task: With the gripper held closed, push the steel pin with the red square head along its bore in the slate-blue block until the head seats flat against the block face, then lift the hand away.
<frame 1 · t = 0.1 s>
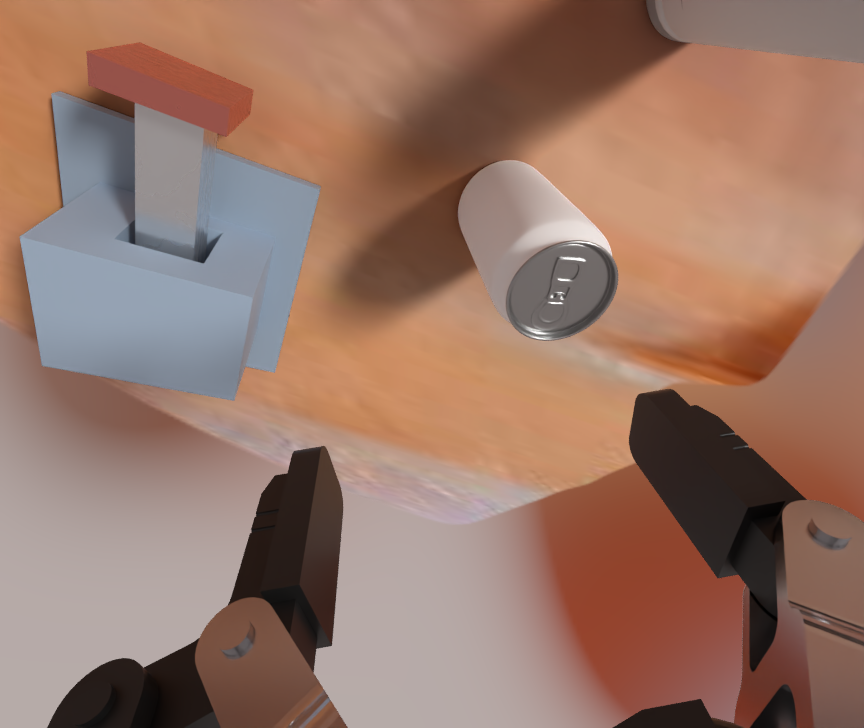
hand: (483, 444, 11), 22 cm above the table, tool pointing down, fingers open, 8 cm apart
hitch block: (192, 260, 30), on the table
can: (501, 206, 30), on the table
pin: (175, 208, 23), point 4 cm above the table, slide at 0.0 cm
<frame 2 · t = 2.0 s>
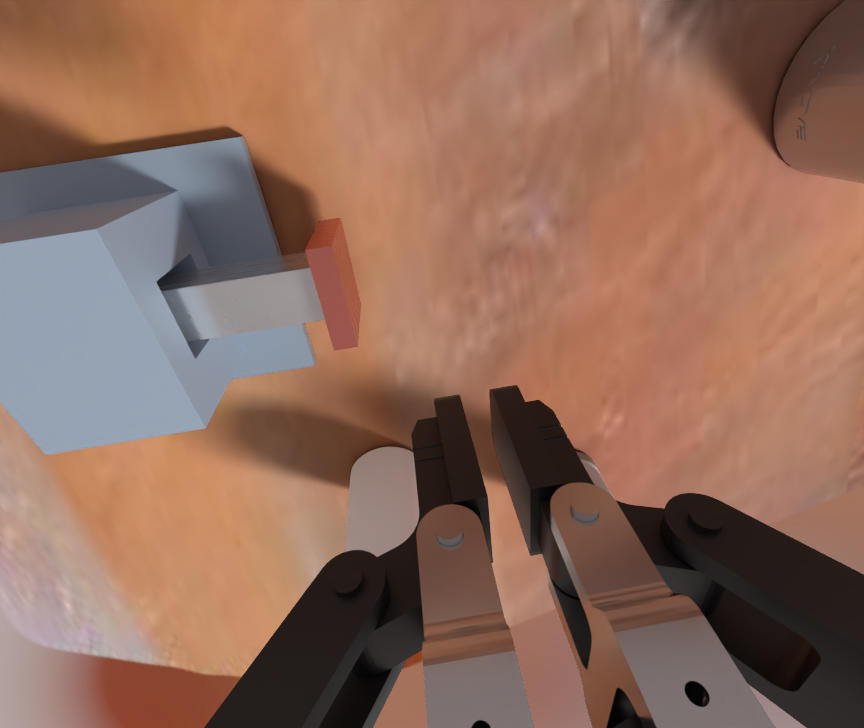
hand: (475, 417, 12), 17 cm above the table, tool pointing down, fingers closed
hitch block: (154, 284, 26), on the table
can: (388, 469, 37), on the table
pin: (223, 299, 22), point 5 cm above the table, slide at 0.0 cm
travel mug: (557, 472, 39), on the table
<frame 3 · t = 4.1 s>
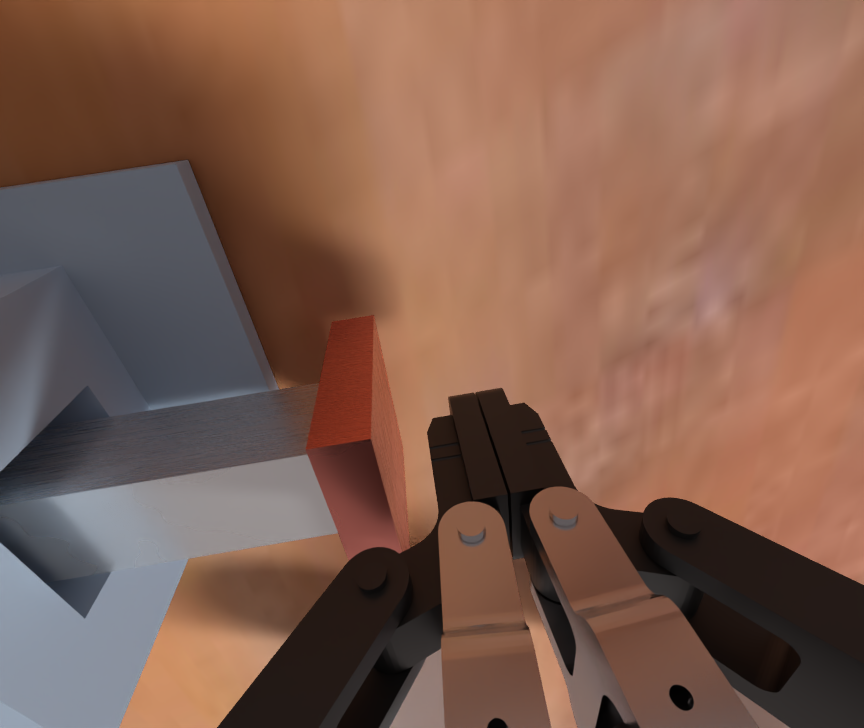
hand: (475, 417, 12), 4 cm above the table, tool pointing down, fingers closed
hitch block: (45, 412, 15), on the table
can: (426, 624, 26), on the table
pin: (144, 485, 11), point 5 cm above the table, slide at 0.1 cm, touching gripper
travel mug: (658, 615, 28), on the table
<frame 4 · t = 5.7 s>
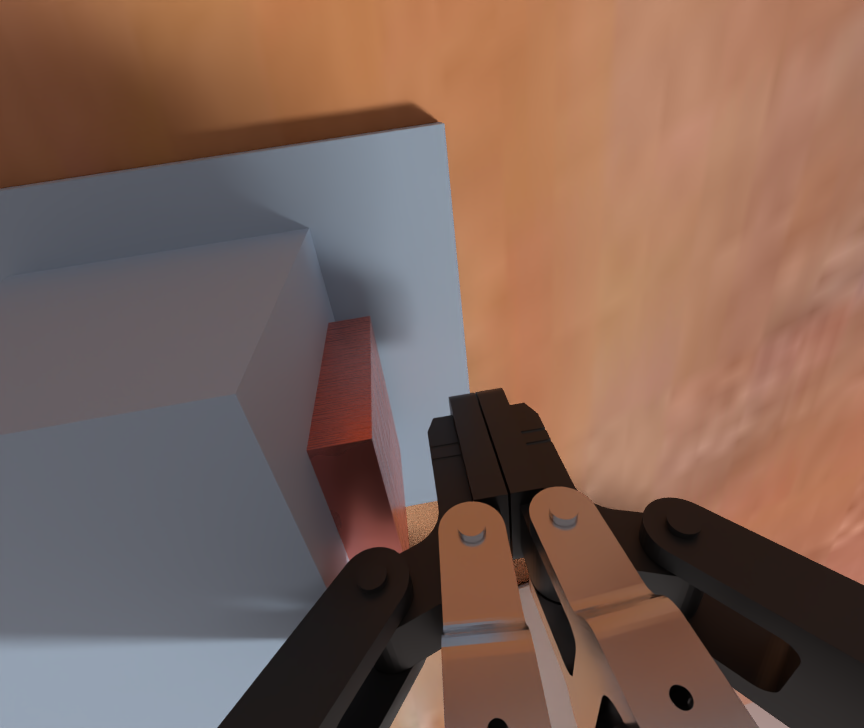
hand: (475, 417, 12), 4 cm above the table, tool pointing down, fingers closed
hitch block: (237, 383, 15), on the table
can: (536, 602, 26), on the table
pin: (139, 490, 11), point 4 cm above the table, slide at 7.0 cm, touching gripper, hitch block
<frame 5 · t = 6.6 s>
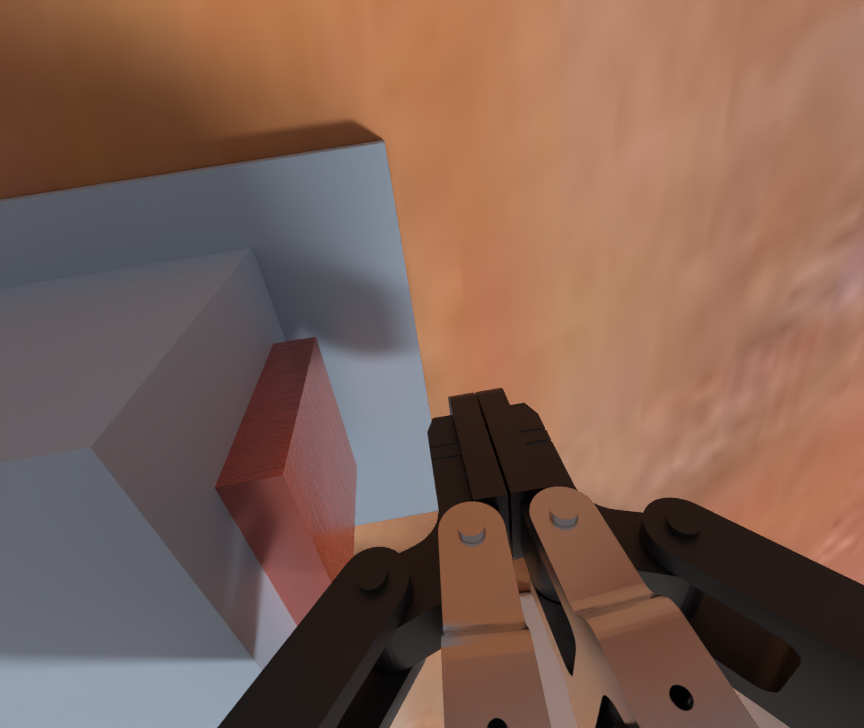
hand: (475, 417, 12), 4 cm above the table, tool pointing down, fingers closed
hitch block: (193, 400, 15), on the table
can: (514, 616, 25), on the table
pin: (76, 515, 11), point 4 cm above the table, slide at 7.0 cm
travel mug: (738, 604, 28), on the table
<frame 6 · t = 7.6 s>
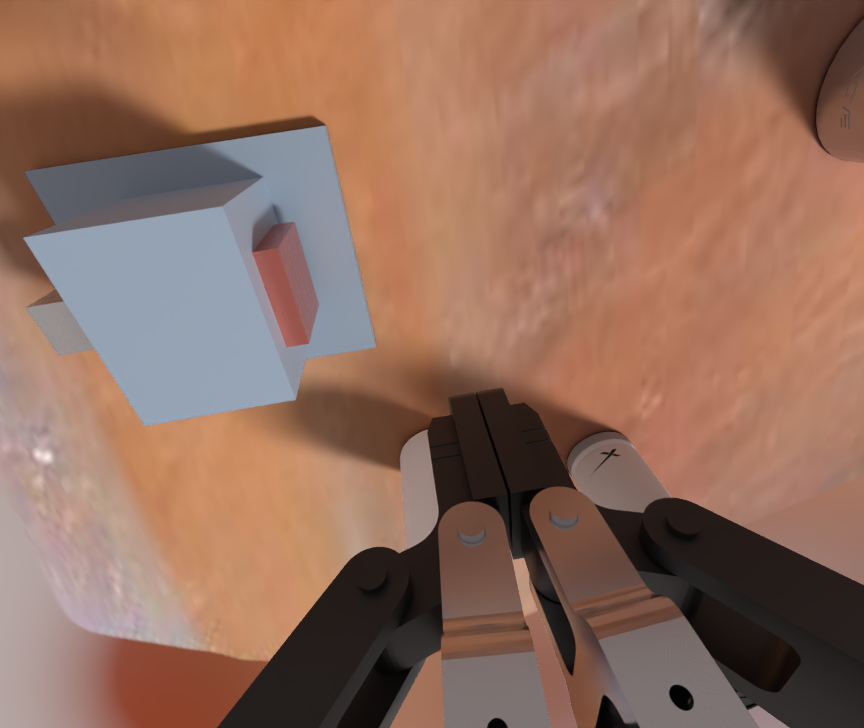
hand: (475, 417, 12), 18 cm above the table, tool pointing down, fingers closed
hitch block: (230, 268, 27), on the table
can: (435, 451, 38), on the table
pin: (181, 300, 23), point 4 cm above the table, slide at 7.0 cm
travel mug: (595, 453, 41), on the table
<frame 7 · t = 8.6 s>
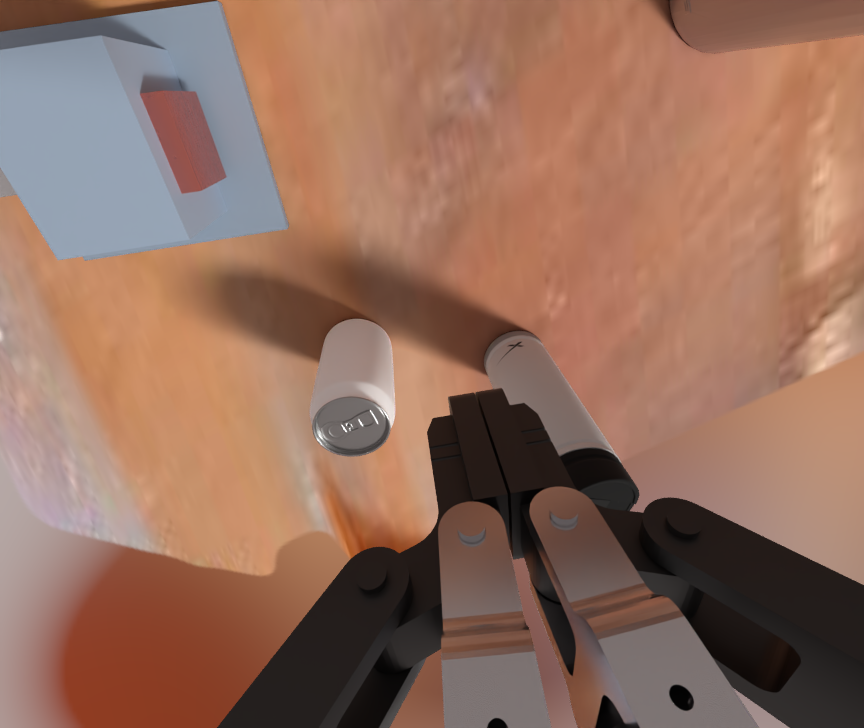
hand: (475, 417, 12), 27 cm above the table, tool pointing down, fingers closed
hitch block: (148, 145, 30), on the table
can: (358, 345, 41), on the table
pin: (93, 155, 27), point 5 cm above the table, slide at 7.0 cm
travel mug: (511, 355, 44), on the table
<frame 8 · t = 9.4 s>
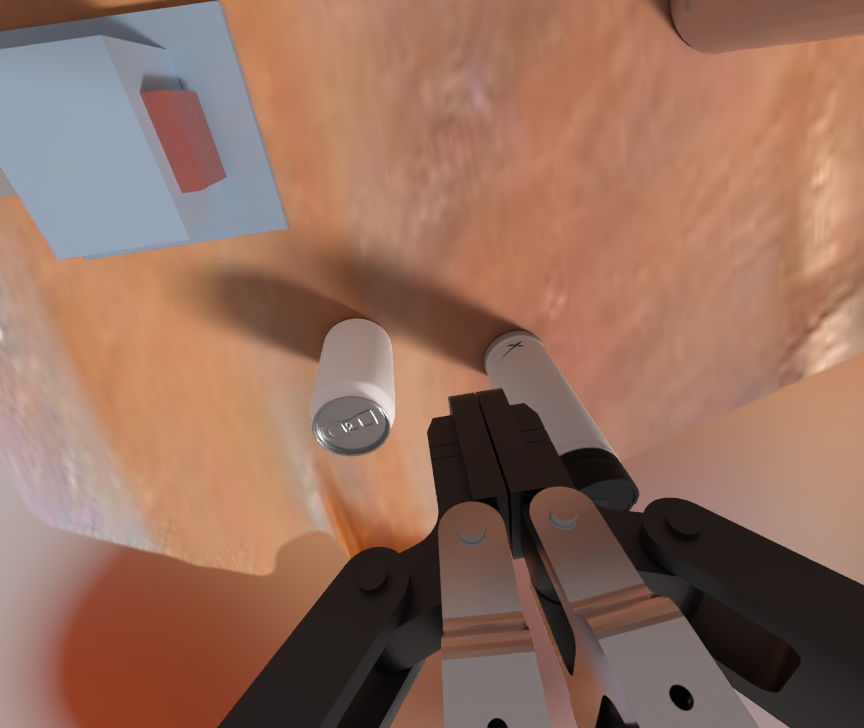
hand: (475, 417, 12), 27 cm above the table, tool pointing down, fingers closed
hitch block: (148, 144, 30), on the table
can: (358, 345, 41), on the table
pin: (93, 155, 27), point 4 cm above the table, slide at 7.0 cm
travel mug: (511, 355, 44), on the table
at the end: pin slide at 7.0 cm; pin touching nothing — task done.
